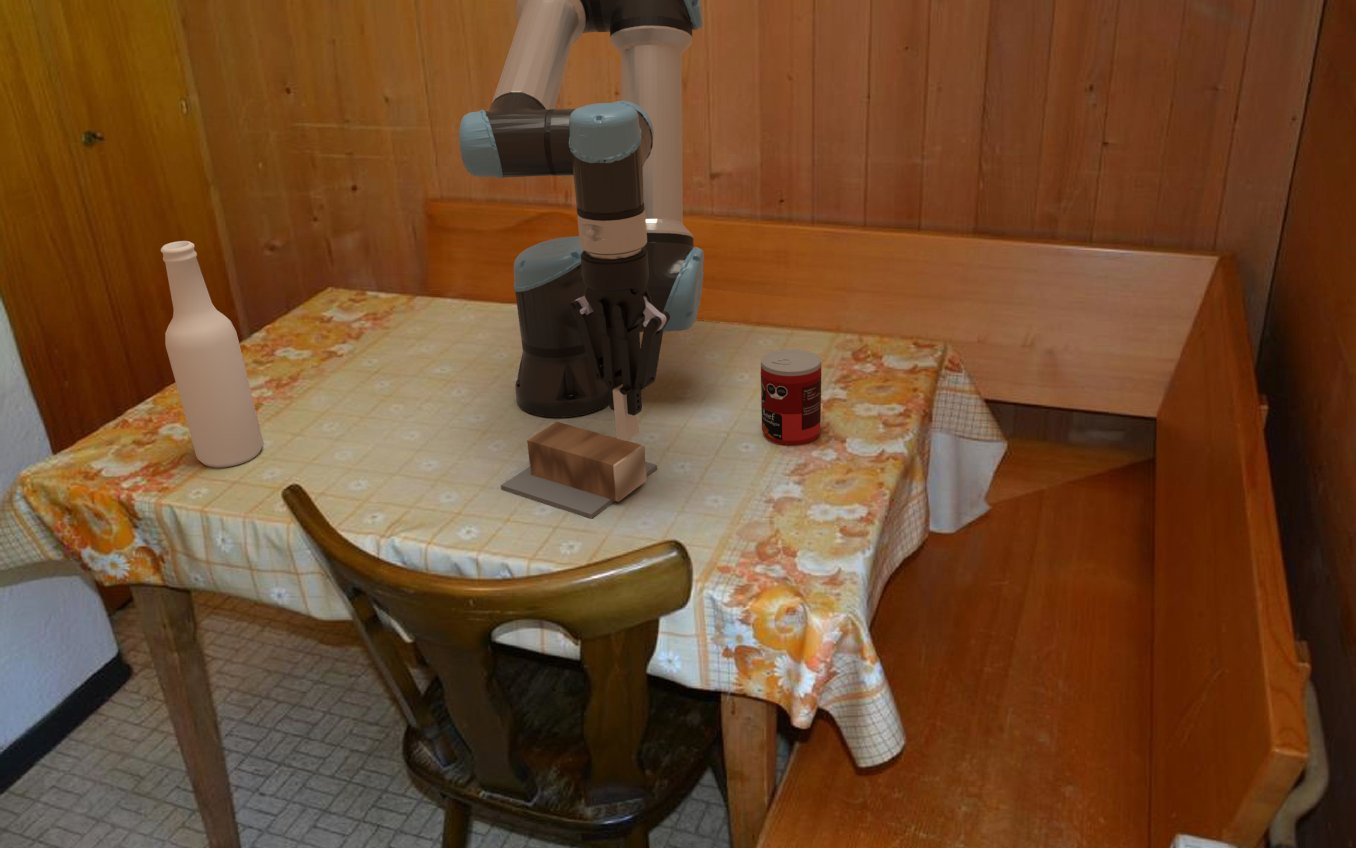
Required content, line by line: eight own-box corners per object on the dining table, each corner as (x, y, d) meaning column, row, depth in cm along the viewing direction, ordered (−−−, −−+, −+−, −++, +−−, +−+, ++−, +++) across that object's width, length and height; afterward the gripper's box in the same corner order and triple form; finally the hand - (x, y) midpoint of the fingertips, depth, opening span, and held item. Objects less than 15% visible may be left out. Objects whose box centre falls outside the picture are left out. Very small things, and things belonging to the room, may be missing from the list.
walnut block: (618, 501, 134) (531, 474, 142) (646, 480, 139) (560, 455, 146) (615, 466, 132) (527, 440, 139) (644, 445, 137) (556, 421, 144)
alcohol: (269, 436, 157) (219, 231, 143) (259, 465, 149) (206, 251, 135) (204, 443, 155) (149, 238, 142) (191, 473, 148) (131, 258, 134)
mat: (501, 489, 140) (500, 485, 139) (569, 444, 150) (569, 440, 150) (591, 518, 132) (591, 514, 132) (657, 468, 143) (657, 464, 142)
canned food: (757, 423, 153) (756, 350, 148) (814, 419, 153) (815, 346, 148) (766, 449, 146) (765, 373, 141) (825, 444, 147) (826, 368, 142)
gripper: (547, 250, 123) (566, 436, 134) (642, 266, 117) (655, 460, 127) (587, 231, 129) (603, 412, 139) (680, 246, 122) (689, 434, 133)
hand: (628, 435), depth 133 cm, fingers closed
